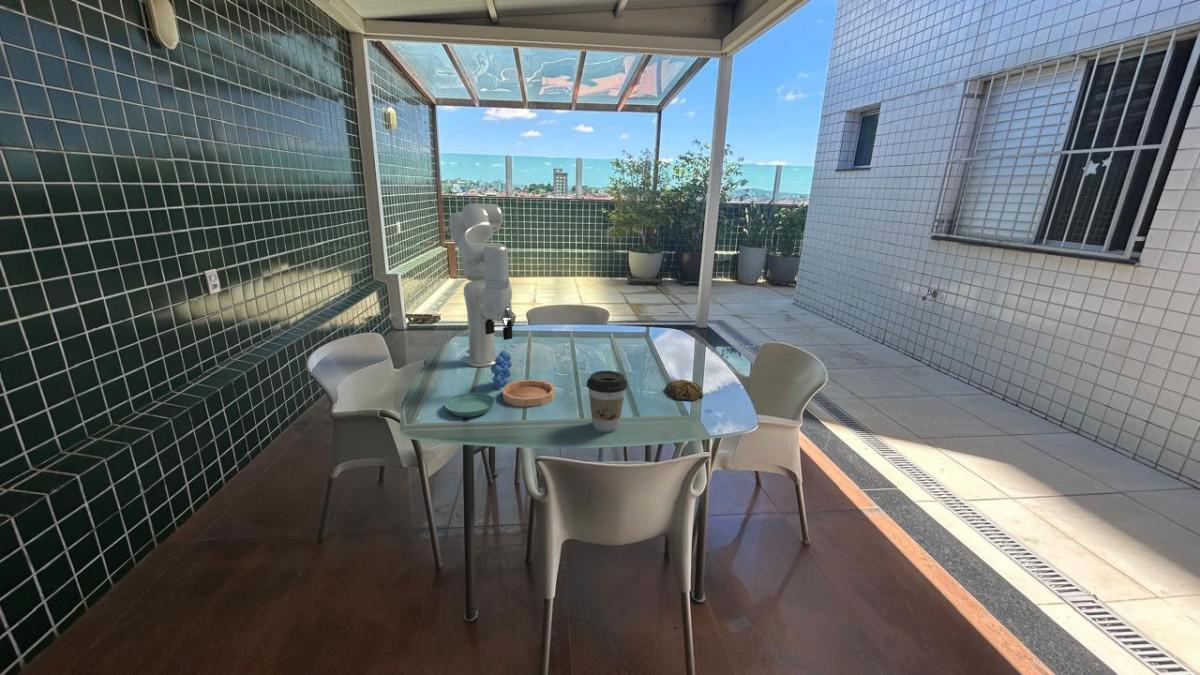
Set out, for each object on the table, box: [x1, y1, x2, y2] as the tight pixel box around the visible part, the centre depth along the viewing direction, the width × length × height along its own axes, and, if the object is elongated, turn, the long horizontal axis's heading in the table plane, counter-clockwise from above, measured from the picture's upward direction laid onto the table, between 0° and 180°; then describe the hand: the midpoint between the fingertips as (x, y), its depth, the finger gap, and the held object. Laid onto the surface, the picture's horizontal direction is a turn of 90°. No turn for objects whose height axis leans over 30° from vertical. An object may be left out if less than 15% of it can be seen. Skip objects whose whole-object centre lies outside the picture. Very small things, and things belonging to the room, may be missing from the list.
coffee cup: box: [586, 370, 629, 433], centre depth 134 cm, size 11×11×15 cm
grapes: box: [489, 350, 513, 389], centre depth 163 cm, size 12×7×12 cm, turn 167°
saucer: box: [444, 392, 496, 418], centre depth 145 cm, size 15×15×3 cm
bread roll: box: [665, 379, 704, 402], centre depth 160 cm, size 13×12×5 cm
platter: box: [501, 379, 556, 408], centre depth 156 cm, size 16×16×2 cm
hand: (498, 336), depth 159 cm, fingers open, 9 cm apart
